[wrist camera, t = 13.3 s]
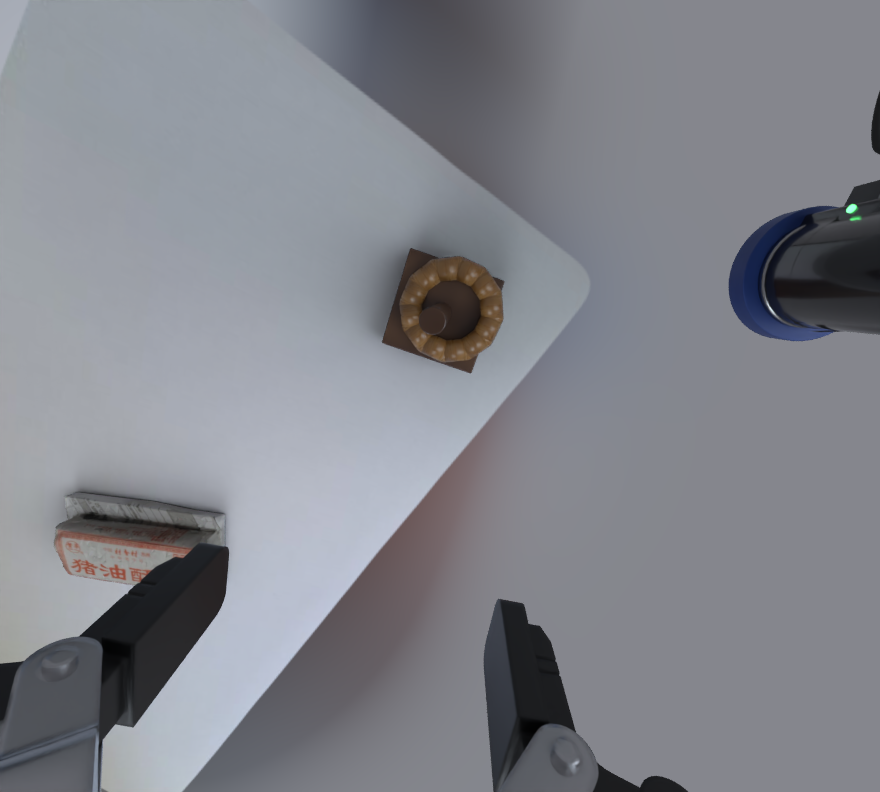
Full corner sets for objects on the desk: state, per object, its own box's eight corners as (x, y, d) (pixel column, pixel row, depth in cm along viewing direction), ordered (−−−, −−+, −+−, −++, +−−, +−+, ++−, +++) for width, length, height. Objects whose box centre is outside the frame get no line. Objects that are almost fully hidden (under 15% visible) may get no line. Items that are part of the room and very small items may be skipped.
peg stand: (414, 251, 41) (386, 227, 26) (502, 282, 41) (523, 275, 26) (387, 339, 43) (347, 363, 28) (470, 368, 43) (474, 406, 29)
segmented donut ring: (425, 240, 38) (423, 237, 36) (519, 284, 38) (522, 283, 36) (387, 335, 40) (383, 337, 38) (475, 375, 40) (476, 379, 38)
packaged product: (203, 534, 44) (203, 614, 46) (228, 511, 49) (227, 584, 51) (34, 509, 44) (44, 590, 47) (75, 488, 49) (82, 563, 51)
